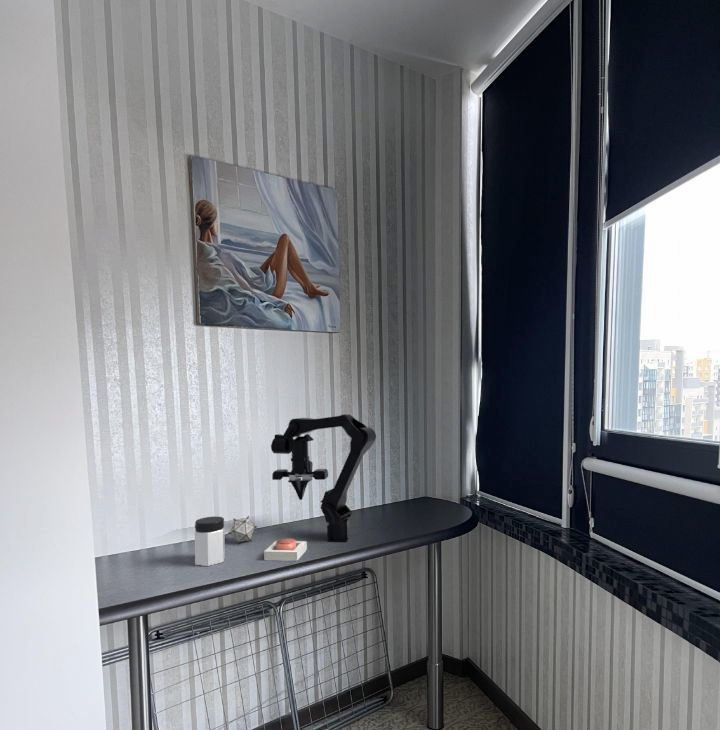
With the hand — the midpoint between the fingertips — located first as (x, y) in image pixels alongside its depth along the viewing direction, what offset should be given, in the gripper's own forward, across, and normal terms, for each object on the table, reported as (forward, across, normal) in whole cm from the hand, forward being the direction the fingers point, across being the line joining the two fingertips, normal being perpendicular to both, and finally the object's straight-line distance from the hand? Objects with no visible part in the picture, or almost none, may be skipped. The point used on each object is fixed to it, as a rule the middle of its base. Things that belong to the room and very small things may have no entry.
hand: (301, 499), depth 160 cm
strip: (+12, +26, +10) cm, 30 cm away
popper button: (+12, -1, +20) cm, 23 cm away
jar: (+12, +20, +27) cm, 36 cm away
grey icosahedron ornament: (+12, +18, +9) cm, 23 cm away
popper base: (+12, -1, +20) cm, 23 cm away
